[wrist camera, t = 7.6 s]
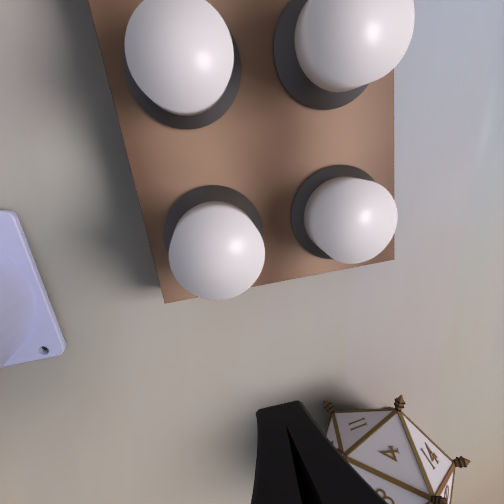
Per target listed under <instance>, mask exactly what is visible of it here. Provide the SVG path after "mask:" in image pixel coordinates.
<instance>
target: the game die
mask: <svg viewBox="0 0 504 504" xmlns="http://www.w3.org/2000/svg"><path fill="white" fill-rule="evenodd" d="M404 404H405V402H404V400H403V397H402V395H400V396H399V397H398V398H396V399H395V403H394V405H395V408H385V409H366V410H347V411H335V410H334V408H333V407H334V406H332V405H331V403H329V402H326V401H324V405H325V409H327V411H328V412H330V413H331V418H330V421H329V425H328V428H327V432H326V435H325V436H326V437H327V438H328V439H329V440H330V442H331V443H332V444H333V445H334V446H335V448H336V449H337V450H338V451H339V452H340V453H341V455H342V456H343V457H344V458H345V459H346V460H347V461H348V463H349V464H350V465H351V466H352V467H353V468H354V469H355V470H356V471H357V472H358V473H359V475H360V476H361V477H362V478H363V479H364V480H365V481H366V482H367V483H368V484H369V485H370V486H371V487H372V488H373V489H374V490H375V491H376V492H377V493H378V494H379V495H380V496H381V497H382V498H383V499H384V500H385V501H386V502H387V503H388V504H451V498H452V490H453V482H454V474H455V467H460V468H462V467H467V465H468V464H469V463H470V460H467V459H465V458H463V457H462V456H460V457H459V458H458V457H456V459H454V460H452V459H451V458H450V457H449V456H448V455H447V454H446V453H444V452H443V451H442V450H441V449H440V448H439V447H438V446H437V445H436V444H435V443H434V442H433V441H432V440H431V439H430V438H429V437H428V436H427V435H426V434H425V433H424V432H423V431H422V430H421V429H419V428H418V427H417V426H416V425H415V424H414V423H413V422H412V421H411V420H410V419H409V418H408V417H407V416H406V415H405V414H404V413H403V412H402V411H401V410H402V408H404Z"/></svg>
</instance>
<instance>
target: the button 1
mask: <svg viewBox="0 0 504 504" xmlns="http://www.w3.org/2000/svg"><path fill="white" fill-rule="evenodd" d="M125 55H126V61H127V64H128V67H129V70H130V72H131V75H132V77H133V78H134V80H135V82H136V83H137V85H138V86H139V87H140V89H141V90H142V91H143V92H144V93H145V94H146V95H147V96H148V97H149V98H150V99H151V100H152V101H153V102H154V103H155V104H157V105H158V106H159V107H161V108H162V109H164V110H166V111H168V112H170V113H173V114H176V115H182V116H192V115H197V114H200V113H203V112H205V111H207V110H209V109H210V108H211V107H213V106H214V105H215V104H216V103H217V102H218V101H219V99H220V98H221V97H222V95H223V93H224V91H225V89H226V87H227V84H228V82H229V79H230V77H231V73H232V69H233V63H234V51H233V44H232V39H231V36H230V33H229V30H228V28H227V26H226V24H225V22H224V20H223V18H222V17H221V16H220V14H219V13H218V12H217V10H216V9H215V8H214V7H213V6H212V5H211V4H209V3H208V2H207V1H206V0H144V1H142V2H141V3H140V5H139V6H138V7H137V8H136V9H135V11H134V12H133V14H132V16H131V18H130V20H129V22H128V25H127V28H126V33H125Z"/></svg>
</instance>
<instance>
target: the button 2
mask: <svg viewBox="0 0 504 504" xmlns="http://www.w3.org/2000/svg"><path fill="white" fill-rule="evenodd" d="M264 260H265V247H264V243H263V240H262V237H261V235H260V233H259V231H258V230H257V228H256V227H255V225H254V224H253V222H252V221H251V219H250V218H249V217H248V216H247V214H246V213H245V212H243V211H242V210H241V209H239V208H238V207H236V206H234V205H232V204H229V203H226V202H220V201H212V202H205V203H202V204H199V205H197V206H195V207H193V208H191V209H190V210H189V211H187V212H186V213H185V214H184V215H183V216H182V218H181V219H180V220H179V222H178V224H177V226H176V228H175V231H174V234H173V237H172V240H171V243H170V247H169V263H170V267H171V270H172V273H173V275H174V277H175V278H176V280H177V281H178V283H179V284H180V285H181V286H182V287H183V288H184V289H185V290H187V291H188V292H190V293H191V294H193V295H195V296H198V297H200V298H204V299H208V300H224V299H229V298H232V297H235V296H237V295H239V294H241V293H243V292H244V291H246V290H247V289H248V288H249V287H251V286H252V285H253V283H254V282H255V281H256V280H257V278H258V277H259V275H260V273H261V271H262V268H263V265H264Z"/></svg>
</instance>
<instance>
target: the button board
mask: <svg viewBox="0 0 504 504" xmlns="http://www.w3.org/2000/svg"><path fill="white" fill-rule="evenodd" d="M88 1H89V5H90V9H91V13H92V17H93V21H94V25H95V29H96V33H97V37H98V41H99V45H100V49H101V53H102V57H103V61H104V65H105V69H106V73H107V77H108V81H109V85H110V89H111V92H112V96H113V100H114V104H115V108H116V112H117V116H118V120H119V124H120V128H121V132H122V136H123V140H124V144H125V148H126V152H127V156H128V160H129V164H130V168H131V172H132V176H133V180H134V184H135V187H136V191H137V195H138V199H139V203H140V207H141V211H142V215H143V219H144V223H145V227H146V231H147V235H148V239H149V243H150V247H151V251H152V255H153V259H154V263H155V267H156V271H157V275H158V279H159V282H160V286H161V290H162V294H163V298H164V302H165V303H170V302H176V301H181V300H186V299H191V298H196V297H198V296H195V295H193V294H191V293H190V292H188V291H187V290H185V289H184V288H183V287H182V286H181V285H180V284H179V283H178V281H177V280H176V278H175V277H174V275H173V273H172V270H171V267H170V263H169V247H170V243H171V240H172V237H173V234H174V231H175V228H176V226H177V224H178V222H179V220H180V219H181V218H182V216H183V215H184V214H185V213H186V212H187V211H189V210H190V209H191V208H193V207H195V206H197V205H199V204H202V203H205V202H212V201H220V202H226V203H229V204H232V205H234V206H236V207H238V208H239V209H241V210H242V211H243V212H245V213H246V214H247V216H248V217H249V218H250V219H251V221H252V222H253V224H254V225H255V227H256V228H257V230H258V231H259V233H260V235H261V237H262V240H263V243H264V247H265V260H264V265H263V268H262V271H261V273H260V275H259V277H258V278H257V280H256V281H255V282H254V283H253V285H252V286H251V287H254V286H259V285H264V284H269V283H274V282H280V281H285V280H290V279H295V278H300V277H306V276H311V275H316V274H321V273H326V272H332V271H337V270H342V269H347V268H353V267H358V266H363V265H368V264H373V263H379V262H384V261H389V260H394V235H393V237H392V239H391V241H390V242H389V244H388V245H387V246H386V247H385V249H384V250H383V251H382V252H380V253H379V254H378V255H377V256H375V257H374V258H372V259H370V260H367V261H365V262H361V263H356V264H347V263H342V262H339V261H336V260H334V259H333V258H331V257H330V256H329V255H327V254H326V253H325V252H324V251H323V250H322V249H320V248H319V247H318V246H317V245H316V244H315V243H313V242H312V240H311V239H310V238H309V236H308V234H307V232H306V230H305V226H304V210H305V206H306V204H307V201H308V199H309V197H310V196H311V194H312V193H313V192H314V190H315V189H316V188H317V187H318V186H320V185H321V184H322V183H324V182H326V181H327V180H330V179H332V178H336V177H342V176H345V177H353V178H358V179H363V180H368V181H373V182H375V183H378V184H380V185H382V186H383V187H384V188H386V190H387V191H388V192H389V193H390V194H391V196H392V197H393V199H394V69H392V70H391V71H390V72H389V73H388V74H386V75H385V76H384V77H382V78H380V79H378V80H376V81H373V82H370V83H368V84H365V85H363V86H360V87H358V88H355V89H352V90H350V91H345V92H331V91H327V90H324V89H322V88H320V87H318V86H317V85H315V84H314V83H313V82H311V81H310V79H309V78H308V77H307V76H306V75H305V73H304V72H303V70H302V68H301V67H300V64H299V62H298V59H297V55H296V51H295V29H296V24H297V20H298V17H299V15H300V13H301V10H302V8H303V7H304V5H305V3H306V2H307V1H308V0H206V1H207V2H208V3H209V4H211V5H212V6H213V7H214V8H215V9H216V10H217V12H218V13H219V14H220V16H221V17H222V18H223V20H224V22H225V24H226V26H227V28H228V30H229V33H230V36H231V39H232V44H233V51H234V63H233V69H232V73H231V77H230V79H229V82H228V84H227V87H226V89H225V91H224V93H223V95H222V97H221V98H220V99H219V101H218V102H217V103H216V104H215V105H214V106H213V107H211V108H210V109H209V110H207V111H205V112H203V113H200V114H197V115H192V116H182V115H176V114H173V113H170V112H168V111H166V110H164V109H162V108H161V107H159V106H158V105H157V104H155V103H154V102H153V101H152V100H151V99H150V98H149V97H148V96H147V95H146V94H145V93H144V92H143V91H142V90H141V89H140V87H139V86H138V85H137V83H136V82H135V80H134V78H133V77H132V75H131V72H130V70H129V67H128V64H127V61H126V55H125V33H126V28H127V25H128V22H129V20H130V18H131V16H132V14H133V12H134V11H135V9H136V8H137V7H138V6H139V5H140V3H141V2H142V1H144V0H88Z"/></svg>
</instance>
